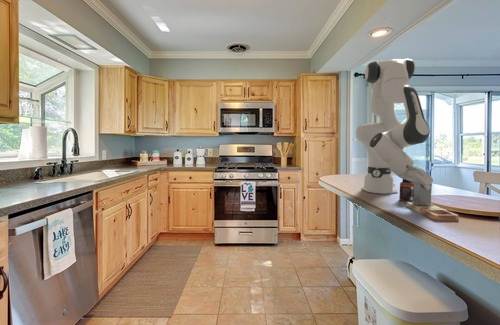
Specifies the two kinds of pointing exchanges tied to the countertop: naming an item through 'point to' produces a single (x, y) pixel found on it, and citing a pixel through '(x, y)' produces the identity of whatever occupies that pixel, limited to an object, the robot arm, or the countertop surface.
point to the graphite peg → (422, 195)
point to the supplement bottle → (406, 191)
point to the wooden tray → (434, 212)
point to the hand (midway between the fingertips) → (424, 187)
